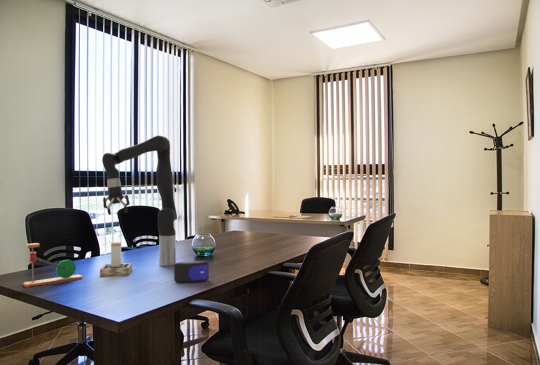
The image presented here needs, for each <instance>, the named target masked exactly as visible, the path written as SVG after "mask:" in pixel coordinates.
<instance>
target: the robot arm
mask: <svg viewBox="0 0 540 365" xmlns="http://www.w3.org/2000/svg"><path fill="white" fill-rule="evenodd" d="M151 152H156V154H157V155H156V156H157V166H156V169H155V170H156V171H155V181H156V188H157V191H158V194H159V196H160V199H161V209H160V210H159V211H158V212H157V230H158V234H159V235H158V237H159V238H158V243H159V244H158V245H159V248H158V249H159V250H158V253H159V254H158V256H159V258H158V262H159V264H158V265H159V266H160V267H171V266H174V264H175V263H177V262H176V261H177V260H176V259H177V258H176V254H177V252H176V249H177V248H176V247H177V246H176V244H177V242H176V233H177V232H176V229H175V220H176V218H177V216H178V215H177V214H178V212H177V209H176V204H175V198H174V182H173V181H174V180H173V172H172V164H171V143H170V140H169V139H168V138H167V137H166V136H163V135H155V136H152V137H150V138H149V139H147V140H145V141H143V142H140V143H138V144H137V143H136V144H134V145H131V146H128V147H125V148H122V149H120V150H118V151H117V152H114V153H113V152H106V153H104V154H103V156H102V159H101V161H102V164H103V168H104V171H105V173H106V180H107V181H106V183H107V184H106V187H107V192H108V193H107V195H108V197H103V199H102V202H103V208H104V209H106V210H107V214H108V215H109V216H110V215H112V211H111V207H112V206H113V205H116V204H122V206H123V211H124V214H126V213H127V212H128V206H129V205H130V200H129V195H128V194H126V195H125V194H124V195H123V190H122V183H121V180H120V179H121V178H120V173H119V169H118V168H117V167H116V165H119V164H121V163H124V162H126V161H129V160H132V159H135V158H137V157H139V156H141V155H143V154H147V153H151ZM123 199H125V202H126V203H125V202H124V201H123ZM108 200H109V203H108V205H107V202H108Z"/></svg>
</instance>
